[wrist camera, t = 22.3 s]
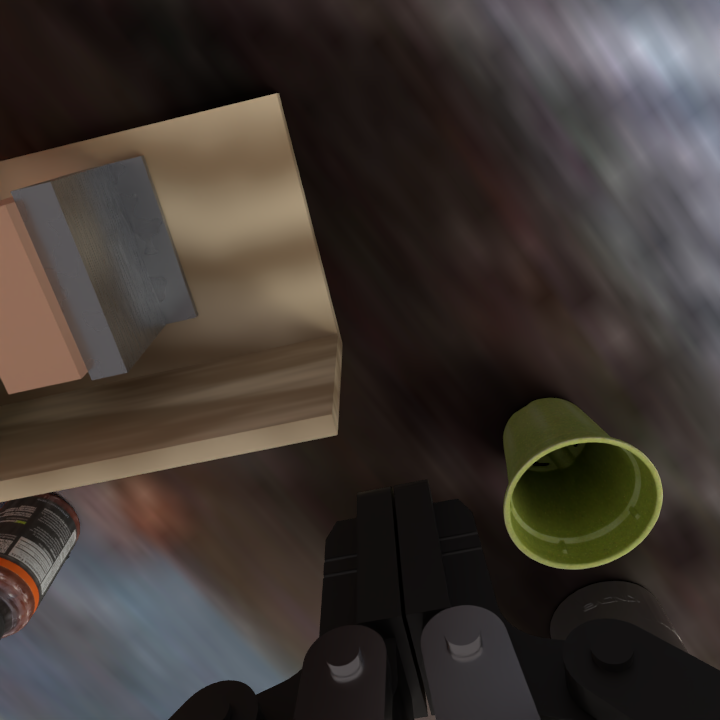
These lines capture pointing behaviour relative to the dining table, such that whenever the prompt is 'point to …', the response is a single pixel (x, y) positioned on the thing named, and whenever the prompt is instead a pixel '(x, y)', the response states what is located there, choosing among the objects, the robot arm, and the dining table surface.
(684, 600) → the dining table surface
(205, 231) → the rack
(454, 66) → the dining table surface
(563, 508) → the plant pot
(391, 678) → the robot arm
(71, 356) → the tan rectangular block
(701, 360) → the dining table surface
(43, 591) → the supplement bottle
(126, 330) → the bookend
